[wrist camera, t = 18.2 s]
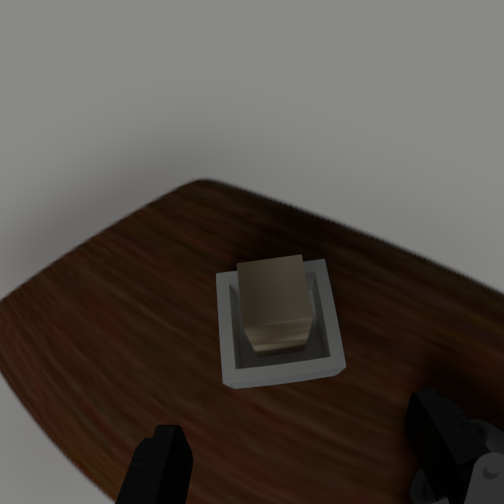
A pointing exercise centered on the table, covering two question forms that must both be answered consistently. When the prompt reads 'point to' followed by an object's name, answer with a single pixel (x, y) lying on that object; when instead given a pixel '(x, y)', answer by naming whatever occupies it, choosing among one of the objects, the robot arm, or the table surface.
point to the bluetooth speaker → (492, 439)
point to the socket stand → (284, 365)
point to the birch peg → (275, 304)
